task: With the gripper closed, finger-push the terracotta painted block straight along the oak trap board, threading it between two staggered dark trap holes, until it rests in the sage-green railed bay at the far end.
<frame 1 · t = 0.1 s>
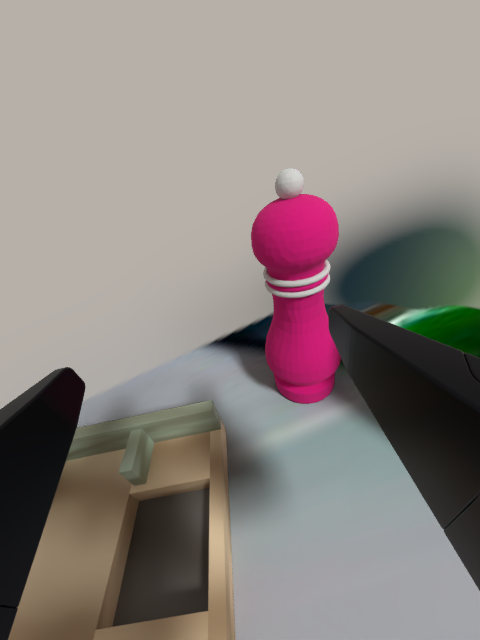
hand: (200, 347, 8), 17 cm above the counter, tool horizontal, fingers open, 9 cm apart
pepper mill: (303, 380, 26), on the counter
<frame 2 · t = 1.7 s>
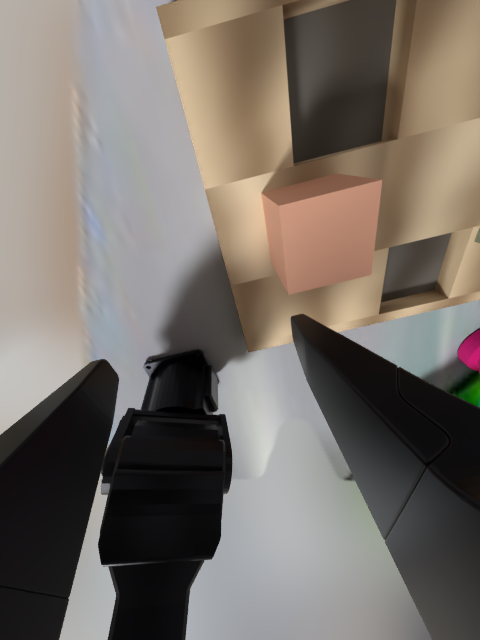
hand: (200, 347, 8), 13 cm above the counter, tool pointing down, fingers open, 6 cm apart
trap board: (370, 197, 18), on the counter
block: (301, 222, 17), point 2 cm above the counter, touching trap board
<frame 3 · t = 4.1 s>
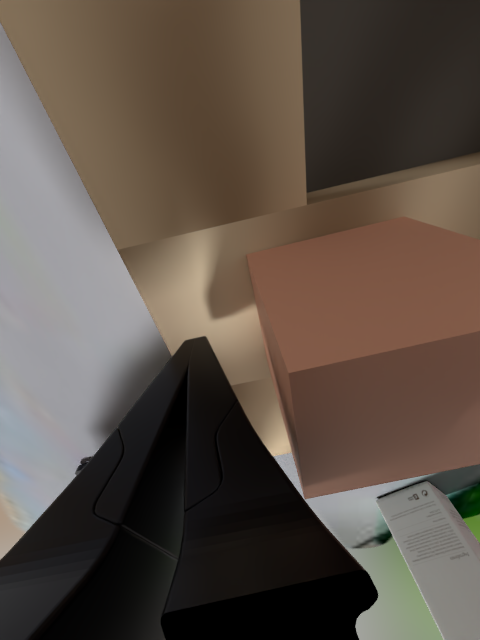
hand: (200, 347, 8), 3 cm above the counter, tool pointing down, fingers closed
trap board: (437, 250, 10), on the counter
skincare box: (412, 494, 29), on the counter
block: (324, 302, 9), point 2 cm above the counter, touching gripper
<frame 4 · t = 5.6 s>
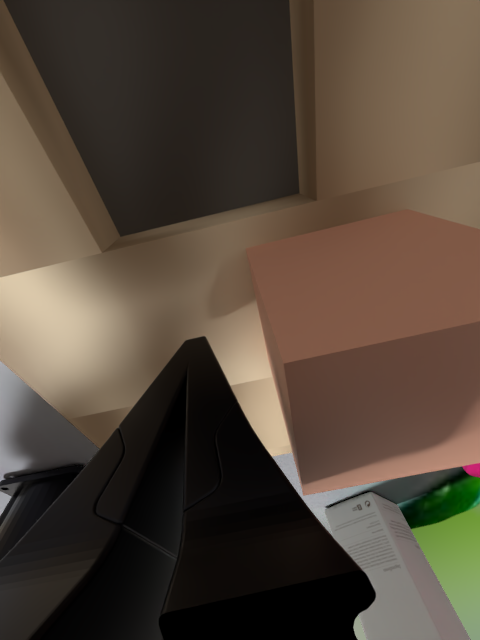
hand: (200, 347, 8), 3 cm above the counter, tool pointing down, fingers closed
trap board: (296, 281, 10), on the counter
skincare box: (362, 503, 29), on the counter
block: (325, 297, 9), point 2 cm above the counter, touching gripper
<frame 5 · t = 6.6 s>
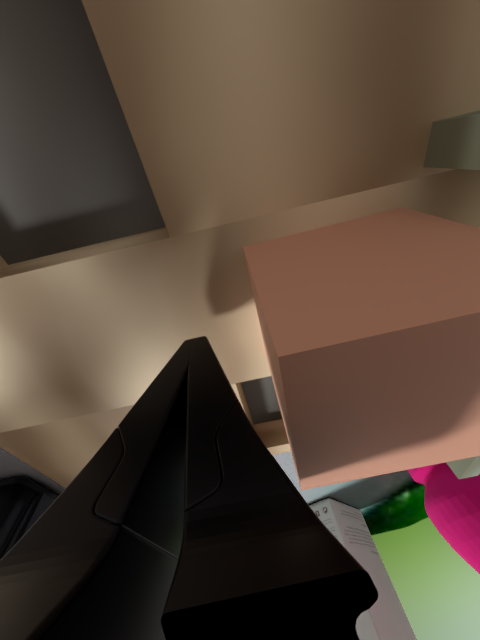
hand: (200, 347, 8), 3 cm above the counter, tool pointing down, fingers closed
trap board: (199, 302, 11), on the counter
skincare box: (325, 509, 29), on the counter
block: (322, 295, 9), point 2 cm above the counter, touching gripper
pepper mill: (433, 445, 22), on the counter
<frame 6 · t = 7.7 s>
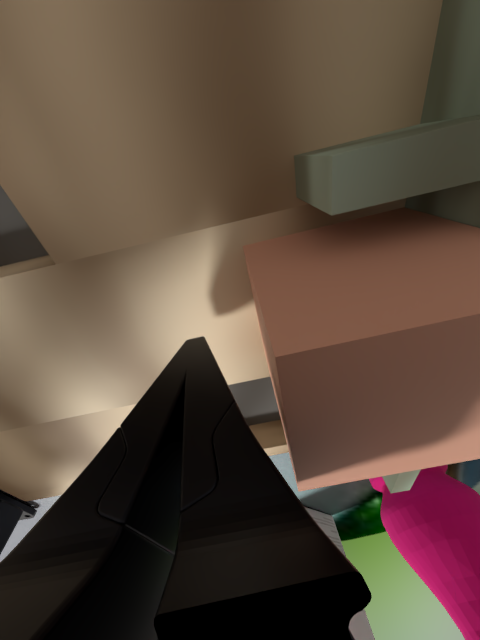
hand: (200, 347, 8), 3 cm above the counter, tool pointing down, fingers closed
trap board: (123, 319, 11), on the counter
skincare box: (296, 514, 29), on the counter
block: (322, 296, 9), point 2 cm above the counter, touching gripper, trap board
pepper mill: (395, 454, 22), on the counter
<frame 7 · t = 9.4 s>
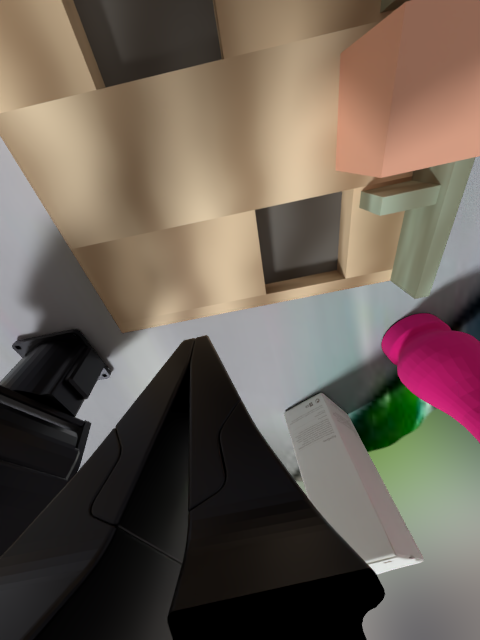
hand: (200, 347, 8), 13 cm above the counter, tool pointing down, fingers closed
trap board: (231, 148, 15), on the counter
skincare box: (317, 411, 34), on the counter
block: (382, 107, 13), point 2 cm above the counter, touching trap board
pepper mill: (408, 334, 26), on the counter
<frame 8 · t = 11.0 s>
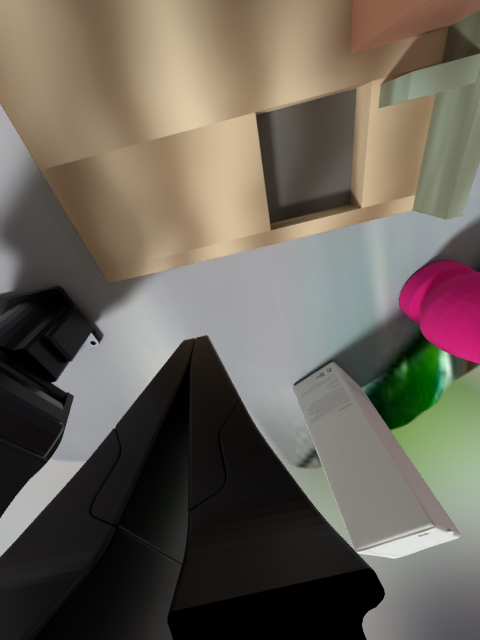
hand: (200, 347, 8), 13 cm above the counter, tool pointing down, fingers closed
trap board: (225, 37, 13), on the counter
skincare box: (328, 385, 31), on the counter
pepper mill: (428, 288, 24), on the counter
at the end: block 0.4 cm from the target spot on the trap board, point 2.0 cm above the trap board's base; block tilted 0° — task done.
